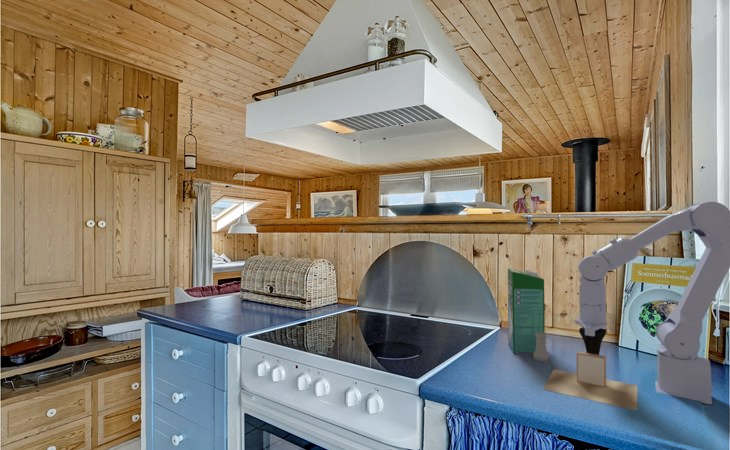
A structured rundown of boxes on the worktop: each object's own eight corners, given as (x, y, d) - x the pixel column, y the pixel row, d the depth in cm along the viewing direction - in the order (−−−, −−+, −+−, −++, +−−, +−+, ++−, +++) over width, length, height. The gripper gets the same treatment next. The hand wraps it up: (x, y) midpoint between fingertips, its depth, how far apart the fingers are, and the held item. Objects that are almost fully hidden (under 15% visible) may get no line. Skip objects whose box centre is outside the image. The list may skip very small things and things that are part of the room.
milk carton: (545, 354, 114) (544, 271, 114) (513, 353, 115) (512, 271, 116) (537, 345, 122) (536, 268, 123) (508, 344, 124) (507, 267, 124)
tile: (606, 385, 90) (606, 356, 90) (605, 387, 89) (605, 357, 89) (577, 379, 94) (577, 351, 94) (576, 381, 92) (576, 353, 92)
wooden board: (637, 387, 90) (637, 385, 90) (637, 413, 78) (637, 410, 78) (554, 371, 101) (554, 369, 101) (542, 391, 88) (542, 389, 88)
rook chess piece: (529, 359, 110) (528, 331, 110) (541, 357, 112) (540, 329, 112) (541, 364, 106) (541, 335, 106) (553, 362, 108) (553, 333, 108)
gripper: (578, 297, 103) (578, 347, 103) (570, 307, 92) (570, 363, 92) (608, 300, 99) (609, 352, 99) (604, 310, 88) (605, 369, 88)
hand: (593, 358), depth 95 cm, fingers closed
